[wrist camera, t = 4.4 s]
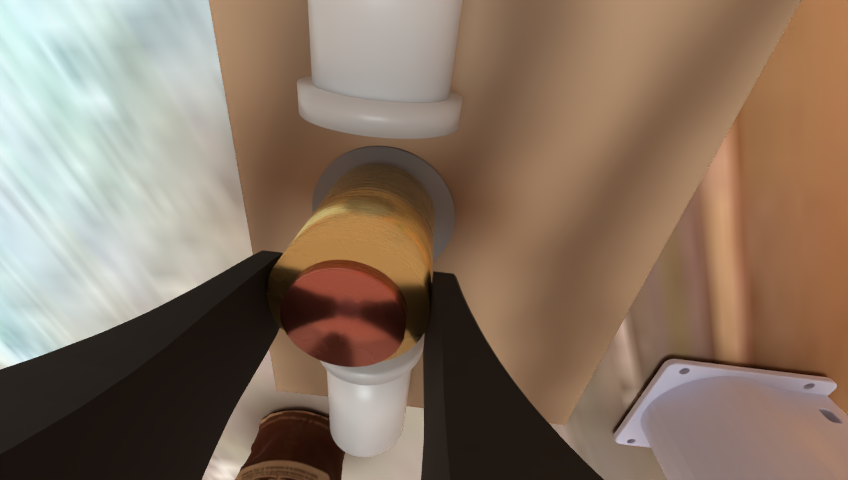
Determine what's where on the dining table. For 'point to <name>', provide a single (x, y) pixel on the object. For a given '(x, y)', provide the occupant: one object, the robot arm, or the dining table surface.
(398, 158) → the flange seat
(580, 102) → the board
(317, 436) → the coffee cup
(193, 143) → the dining table surface
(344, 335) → the tan red-topped cylinder
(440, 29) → the pipe stubs
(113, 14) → the dining table surface
